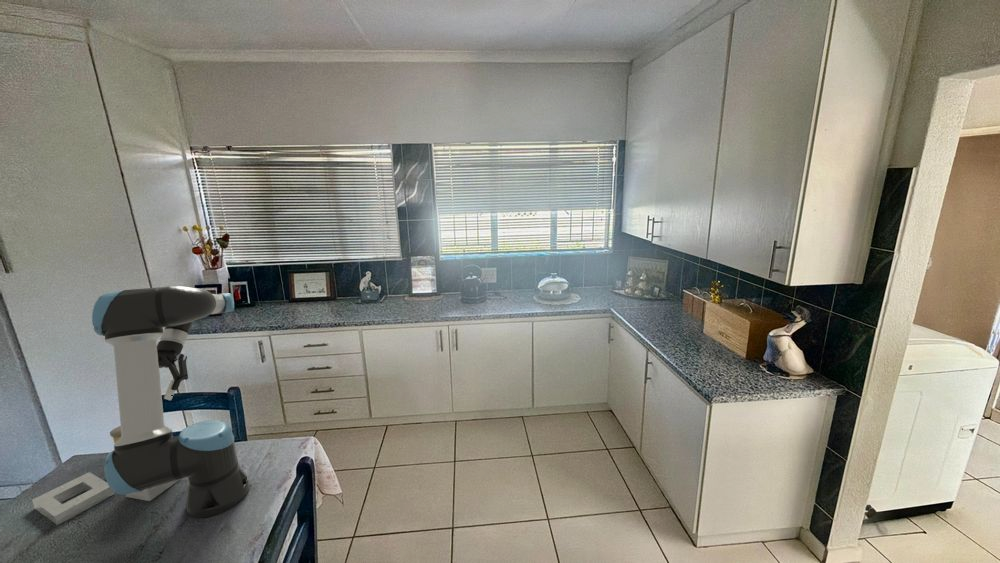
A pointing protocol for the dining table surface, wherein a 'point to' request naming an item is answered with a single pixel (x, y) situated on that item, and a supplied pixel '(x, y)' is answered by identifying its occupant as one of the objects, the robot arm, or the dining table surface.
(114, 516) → the dining table surface
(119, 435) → the yellow and grey cylinder
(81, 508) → the housing
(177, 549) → the dining table surface
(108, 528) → the dining table surface
